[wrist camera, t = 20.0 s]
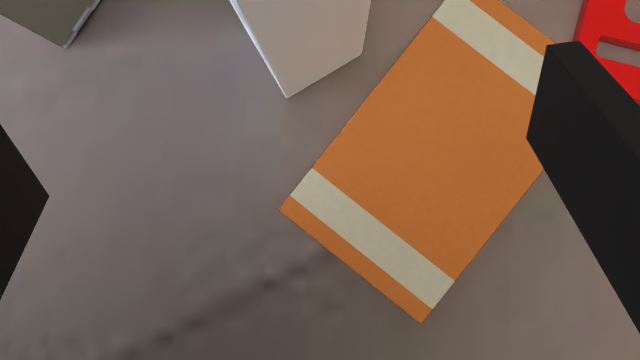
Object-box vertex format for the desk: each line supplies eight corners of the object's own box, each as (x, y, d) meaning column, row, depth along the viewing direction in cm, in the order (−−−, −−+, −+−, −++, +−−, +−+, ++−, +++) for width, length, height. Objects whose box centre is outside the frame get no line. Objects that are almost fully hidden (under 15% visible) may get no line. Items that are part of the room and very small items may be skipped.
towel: (279, 209, 34) (278, 209, 33) (462, -22, 34) (465, -27, 33) (419, 321, 33) (421, 324, 33) (606, 86, 33) (611, 84, 33)
